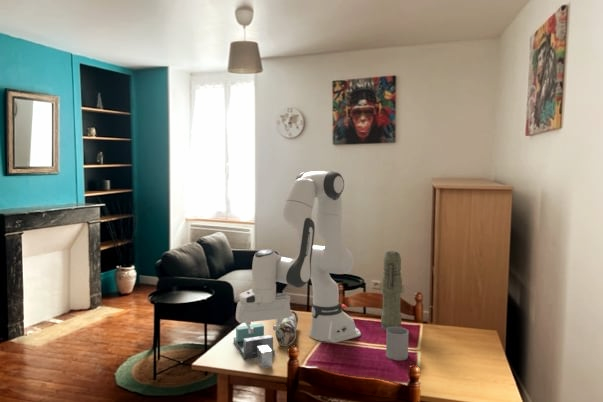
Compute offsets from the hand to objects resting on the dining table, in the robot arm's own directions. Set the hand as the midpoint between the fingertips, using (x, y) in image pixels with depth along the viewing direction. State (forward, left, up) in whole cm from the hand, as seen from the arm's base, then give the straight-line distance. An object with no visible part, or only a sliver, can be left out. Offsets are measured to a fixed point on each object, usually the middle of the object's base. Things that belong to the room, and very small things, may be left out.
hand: (263, 331), depth 161 cm
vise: (-1, -15, -13) cm, 20 cm away
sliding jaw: (-1, -20, -10) cm, 23 cm away
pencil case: (-18, -22, -13) cm, 31 cm away
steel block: (-1, 0, -13) cm, 13 cm away
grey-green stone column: (-65, -13, -13) cm, 67 cm away
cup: (-51, +12, -13) cm, 53 cm away
